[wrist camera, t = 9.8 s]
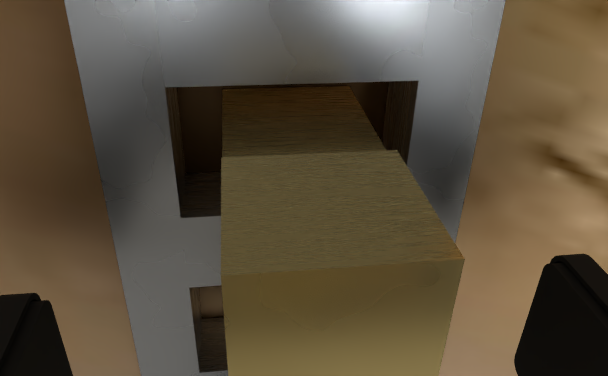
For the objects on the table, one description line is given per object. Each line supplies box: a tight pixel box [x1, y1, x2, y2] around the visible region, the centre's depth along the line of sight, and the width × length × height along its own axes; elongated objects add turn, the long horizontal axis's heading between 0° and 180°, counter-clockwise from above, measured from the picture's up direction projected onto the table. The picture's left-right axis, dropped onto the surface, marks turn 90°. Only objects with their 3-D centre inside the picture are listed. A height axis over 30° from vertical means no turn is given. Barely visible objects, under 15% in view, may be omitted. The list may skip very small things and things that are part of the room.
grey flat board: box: [64, 0, 506, 376], centre depth 11 cm, size 26×8×2 cm, turn 179°
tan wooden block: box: [221, 86, 465, 376], centre depth 11 cm, size 7×3×7 cm, turn 179°
